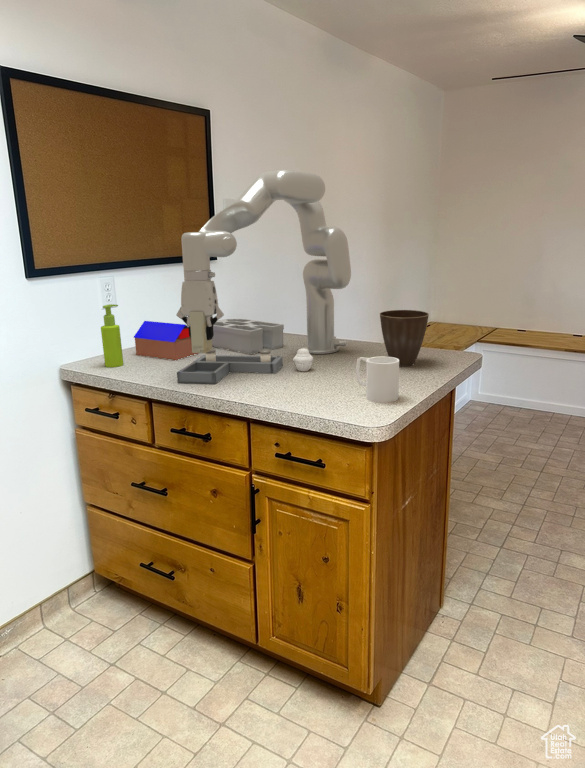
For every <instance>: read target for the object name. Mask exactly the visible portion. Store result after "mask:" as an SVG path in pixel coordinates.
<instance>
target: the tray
mask: <svg viewBox="0 0 585 768" xmlns="http://www.w3.org/2000/svg"><path fill="white" fill-rule="evenodd" d="M229 372H230V366H229V362H193V361H192V362H191V363H189V364H188V365H186V366H185V367H183V368H181V369H180V370H178V371H177V372H176V378H177V379H176V380H177V381H176V382H177V384H189V385H190V384H193V385H194V384H195V385H198V384H199V385H216V384H218V383H219V382H220V381H221V380H223V379H224V378H225V377H226V376H227V375H228V373H229ZM230 373H231V372H230ZM230 373H229V374H230ZM224 376H225V377H224ZM223 377H224V378H223ZM222 378H223V379H222ZM218 381H219V382H218ZM217 382H218V383H217Z"/></svg>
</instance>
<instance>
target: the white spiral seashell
mask: <svg viewBox="0 0 585 768" xmlns="http://www.w3.org/2000/svg"><path fill="white" fill-rule="evenodd" d="M296 352H297V353H296V355H294V357H293V358H292V359H293V362H294V365H295V367H296V368H297V369H296V370H298V371H299V372H307V371H309V370H310V369H311V366H312V364H313V361H314V357H313V356H312V355H311V353H309V351H308V349H305V348H303V347H302V348H299V349H298V350H297V351H296Z"/></svg>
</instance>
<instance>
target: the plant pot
mask: <svg viewBox="0 0 585 768" xmlns="http://www.w3.org/2000/svg"><path fill="white" fill-rule="evenodd" d="M429 315H430V314H429V313H428V312H426V311H424V310H423V311H422V310H416V309H415V310H412V309H395V310H386V311H382V312H379V319H380V327H381V334H382V338H383V343H384V347H385V349H386V353H387V357H394V358H397V359H399V367H410V366H414V365H415V363H416V360H417V359H418V355H419V354H420V351H421V348H422V345H423V342H424V338H425V334H426V331H427V328H428V327H427V326H428V320H429Z"/></svg>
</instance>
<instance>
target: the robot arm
mask: <svg viewBox="0 0 585 768" xmlns="http://www.w3.org/2000/svg"><path fill="white" fill-rule="evenodd" d="M325 194H326V183H325V181H324V179H323V178H322V177H321V176H320V175H319V174H316V173H311V172H303V171H295V170H290V169H277V170H271V171H270V170H269V171H265V172H262V173H260V174H259V175H258V176H257V177H256V179H254V180H253V182H251V184H250V185H249V186H248V187H247V188H246V189H245V191H244V192H242V194H241V195H240V196H239V197H238V198H237V199H236V200H235V201H234V202H233V203H231V204H229V205H228V206H226V207H225V208H223V209H221V210H220V211H218V212H217V213H216V214H215V215H213V216H212V217H211V218H210V219H209V220H207V222H206V223H205V224H204V225H203V226H202V227H201V228H200V229H199V230H198V232H197V231H192V232H191V231H190V232H184V233H182V235H181V250H182V251H181V253H182V266H183V267H182V268H183V277H184V278H183V279H184V281H182V283H181V284H182V285H181V293H180V305H181V306H180V308H179V309H178V311H177V312H176V317H177V318H178V319H180V320H181V321H182V322H183V323H184V324H185V325H187V326H188V327H189V337H190V338H191V328H190V313H189V312H204V316H205V318H206V321H207V327H206V335H207V340H211V339H212V337H213V336H214V332H213V325H214V324H215V323H216V322H217V321H218V320H221V319H222V317H224V315H225V313H223V311H222V309H221V308H220V307H219V302H218V300H219V299H218V294H217V293H218V292H217V288H216V283H215V281H214V280H212V278H215V277H216V273H215V272H212V269H211V261H210V258H212V257H213V258H226V257H230V256H231V255H232V254H234V253H235V251H236V249H237V247H238V245H237V244H238V243H237V239H236V237H235V236H234V235H233V233H234V232H237V231H239V230H241V229H244V228H247V227H250V226H251V225H252V226H253V225H254V224H255V223H257V222H258V221H259V219H260V218H262V216H263V215H264V214H265V213H266V212H267V210H268V209H269V208H270V207H271V206H272V205H273V204H274V203H275V202H276V201H284V202H286V203H287V204H289V205H290V206H291V207H292V208H293V209H294V210H295V212H296V213H297V216H298V221H299V222H298V223H299V228H300V235H301V240H302V241H301V242H302V246H303V250H304V252H305V253H306V254H307V255H308V256H312V257H326V258H323V259H322V258H321V259H319V258H317V259H312V260H310V261H308V262H306V264H305V265H304V267H303V271H302V277H303V278H302V279H303V283H304V288H305V297H306V339H307V340H306V341H307V342H306V343H307V345H305V346H303V347H302V349H303V348H305V349H308V351H309V353H310V354H312V355H324V354H332V353H336V352H338V351H339V347H347V346H348V341H347V340H343V339H341V340H340V339H339V340H338V339H337V336H335V299H334V295H333V292H332V290H343V289H344V288H346V287H348V285H349V284H350V281H351V277H352V270H351V269H352V267H351V258H350V252H349V251H350V249H349V243H348V238H347V235H346V234H345V232H344V231H343V230H342V229H341V228H339V227H337V226H327V223H326V221H327V220H326V218H325V217H326V216H325V212H324V208H323V206H322V204H321V202H320V201H321V200H322V198H323V197H324V196H325Z"/></svg>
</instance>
